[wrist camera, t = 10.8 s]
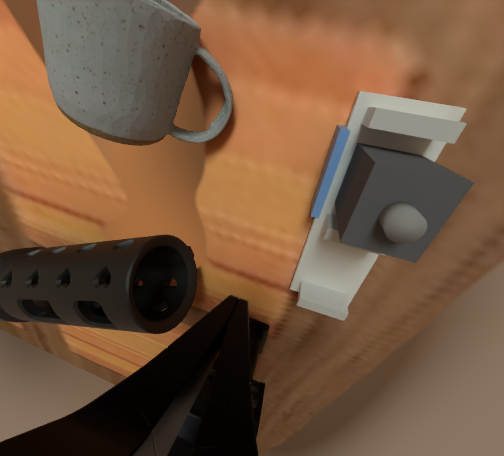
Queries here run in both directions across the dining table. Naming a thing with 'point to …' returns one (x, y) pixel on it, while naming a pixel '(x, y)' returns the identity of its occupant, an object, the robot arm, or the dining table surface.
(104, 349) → the dining table surface
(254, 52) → the dining table surface
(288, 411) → the dining table surface
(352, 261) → the white ridged plate
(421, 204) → the dark grey knobbed block
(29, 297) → the muzzle brake
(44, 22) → the ceramic mug
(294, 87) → the dining table surface
